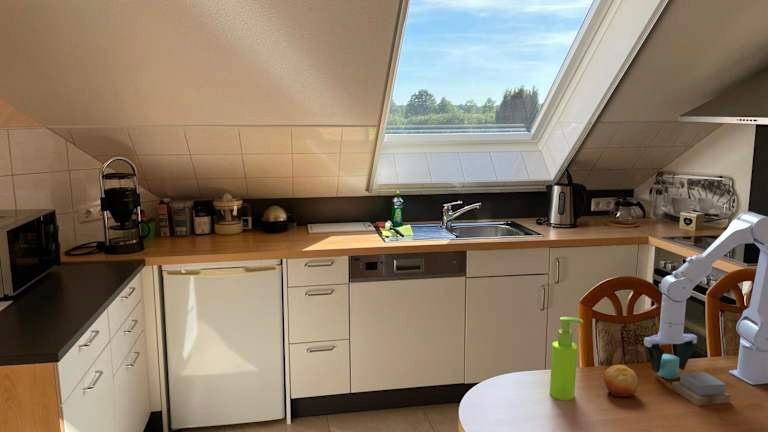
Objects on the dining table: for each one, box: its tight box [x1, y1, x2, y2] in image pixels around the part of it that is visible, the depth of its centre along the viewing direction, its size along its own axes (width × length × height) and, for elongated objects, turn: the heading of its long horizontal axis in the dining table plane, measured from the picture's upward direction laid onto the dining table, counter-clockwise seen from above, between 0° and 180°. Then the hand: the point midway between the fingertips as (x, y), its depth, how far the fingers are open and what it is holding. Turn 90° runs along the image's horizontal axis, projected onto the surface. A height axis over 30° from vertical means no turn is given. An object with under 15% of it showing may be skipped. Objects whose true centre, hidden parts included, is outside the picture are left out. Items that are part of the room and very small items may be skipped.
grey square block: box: [679, 371, 726, 396], centre depth 146 cm, size 7×7×2 cm
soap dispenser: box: [549, 316, 584, 401], centre depth 145 cm, size 6×7×20 cm
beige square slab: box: [671, 380, 731, 407], centre depth 147 cm, size 9×9×2 cm
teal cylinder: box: [656, 353, 680, 380], centre depth 158 cm, size 5×5×5 cm
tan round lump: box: [603, 364, 639, 398], centre depth 148 cm, size 8×8×8 cm
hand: (667, 369), depth 158 cm, fingers open, 7 cm apart
